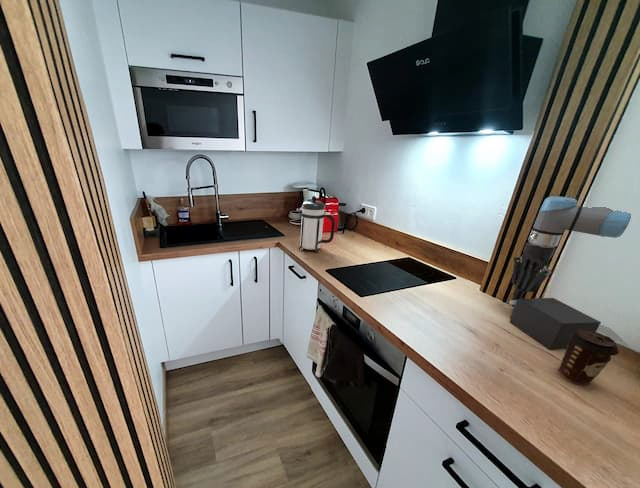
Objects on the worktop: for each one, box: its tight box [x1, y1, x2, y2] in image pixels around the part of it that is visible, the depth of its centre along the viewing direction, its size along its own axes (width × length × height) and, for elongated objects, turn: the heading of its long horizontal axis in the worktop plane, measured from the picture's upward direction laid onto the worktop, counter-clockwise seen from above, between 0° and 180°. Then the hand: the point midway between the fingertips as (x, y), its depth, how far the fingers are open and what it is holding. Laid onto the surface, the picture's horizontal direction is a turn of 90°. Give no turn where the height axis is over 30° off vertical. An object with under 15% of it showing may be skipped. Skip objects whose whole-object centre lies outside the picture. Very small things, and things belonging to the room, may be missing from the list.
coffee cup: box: [557, 330, 620, 386], centre depth 74 cm, size 9×8×13 cm
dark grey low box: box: [509, 297, 602, 351], centre depth 92 cm, size 15×13×10 cm
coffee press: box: [298, 196, 336, 254], centre depth 159 cm, size 17×16×30 cm
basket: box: [508, 299, 519, 320], centre depth 95 cm, size 18×11×8 cm, turn 5°
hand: (514, 304), depth 105 cm, fingers closed
